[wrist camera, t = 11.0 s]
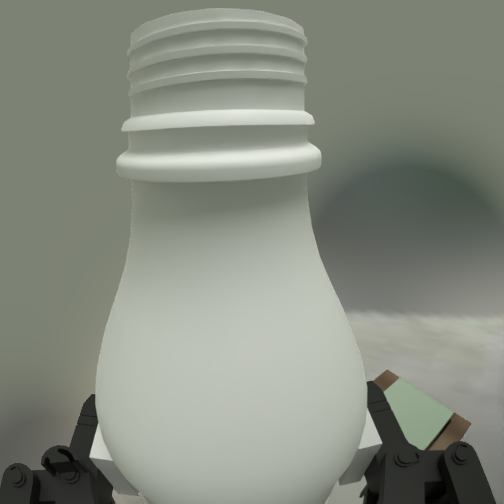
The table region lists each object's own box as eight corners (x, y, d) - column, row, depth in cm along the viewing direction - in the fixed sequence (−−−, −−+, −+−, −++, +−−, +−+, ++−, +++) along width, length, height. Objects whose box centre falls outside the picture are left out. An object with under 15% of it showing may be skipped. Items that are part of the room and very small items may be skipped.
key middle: (335, 442, 25) (341, 425, 24) (391, 487, 20) (403, 473, 19) (273, 484, 21) (275, 470, 20) (330, 540, 16) (338, 531, 15)
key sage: (392, 395, 30) (400, 377, 29) (443, 428, 25) (454, 411, 23) (348, 432, 26) (355, 415, 25) (403, 474, 21) (415, 459, 20)
